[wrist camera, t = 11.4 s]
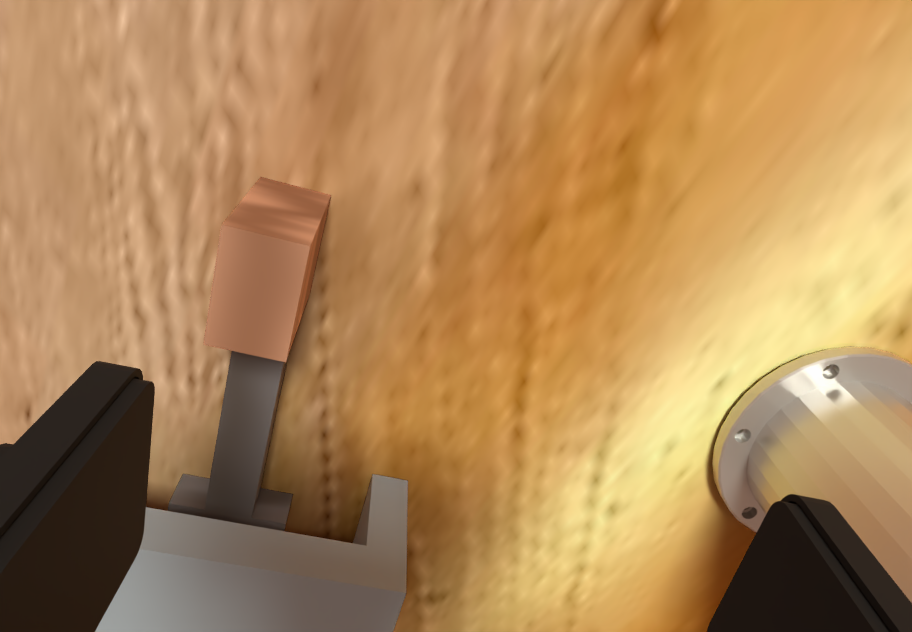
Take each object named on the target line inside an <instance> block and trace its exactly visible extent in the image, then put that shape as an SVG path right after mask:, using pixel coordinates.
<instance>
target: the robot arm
mask: <svg viewBox="0 0 912 632" xmlns="http://www.w3.org/2000/svg"><path fill="white" fill-rule="evenodd" d="M154 393H155V387H154V383H153V382H150V381H145V380H143V375H142V371H141V370H140V369H138V368H132V367H127V366H122V365H117V364H111V363H106V362H101V361H96V362H95V363H93V364H92V365H91V366H90V367H89V368H88V369H87V370H86V371H85V372H84V373H83V374H82V375H81V376H80V377H79V378H78V379H77V380H76V381H75V382H74V383H73V384H72V385H71V386H70V387H69V389H68V390H67V391H66V392H65V393H64V394H63V395H62V396H61V397H60V398H59V399H58V400H57V401H56V402H55V403H54V404H53V405H52V406H51V407H50V408H49V409H48V410H47V411H46V412H45V413H44V414H43V415H42V416H41V417H40V418H39V419H38V420H37V421H36V422H35V423H34V424H33V425H32V426H31V427H30V428H29V429H28V430H27V431H26V432H25V433H24V434H23V435H22V436H21V437H20V439H19V440H18V441H17V442H16V443H15V444H14V445H13V444H7V443H5V444H1V445H0V632H95V630H96V629H97V627H98V625H99V623H100V621H101V620H102V618H103V616H104V614H105V612H106V611H107V609H108V607H109V605H110V603H111V602H112V600H113V598H114V596H115V594H116V593H117V591H118V589H119V587H120V585H121V584H122V582H123V580H124V578H125V576H126V575H127V573H128V571H129V569H130V567H131V566H132V564H133V562H134V560H135V558H136V556H137V554H138V552H139V549H140V546H141V543H142V539H143V534H144V525H145V512H146V499H147V486H148V472H149V459H150V446H151V433H152V420H153V406H154ZM712 466H713V475H714V481H715V484H716V486H717V489H718V492H719V494H720V496H721V498H722V499H723V501H724V502H725V504H726V506H727V507H728V509H729V511H730V512H731V513H732V514H733V515H734V516H735V518H736V519H737V520H738V521H739V522H740V523H742V524H743V525H745V526H746V527H748V528H749V529H751V530H752V531H754V532H756V535H755V537H754V539H753V541H752V543H751V545H750V546H749V548H748V550H747V552H746V554H745V556H744V558H743V560H742V562H741V564H740V566H739V568H738V570H737V572H736V573H735V575H734V577H733V579H732V581H731V583H730V585H729V587H728V589H727V591H726V593H725V595H724V597H723V598H722V600H721V602H720V604H719V606H718V608H717V610H716V612H715V614H714V616H713V618H712V620H711V622H710V624H709V626H708V630H707V632H912V364H911V363H910V362H908V361H907V360H905V359H903V358H901V357H899V356H897V355H895V354H893V353H890V352H887V351H883V350H879V349H875V348H868V347H841V348H833V349H826V350H822V351H819V352H815V353H812V354H808V355H805V356H802V357H800V358H798V359H796V360H793V361H791V362H789V363H787V364H785V365H782V366H781V367H779V368H778V369H776V370H775V371H773V372H771V373H770V374H768V375H767V376H765V377H764V378H762V379H761V380H760V381H759V382H758V383H756V384H755V385H754V386H753V387H752V388H751V389H750V390H748V391H747V392H746V393H745V394H744V395H743V396H742V398H741V399H740V400H739V401H738V402H737V404H736V405H735V406H734V407H733V408H732V410H731V411H730V413H729V415H728V416H727V418H726V420H725V421H724V423H723V425H722V427H721V429H720V431H719V434H718V437H717V440H716V443H715V446H714V453H713V461H712Z"/></svg>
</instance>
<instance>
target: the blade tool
mask: <svg viewBox="0 0 912 632" xmlns="http://www.w3.org/2000/svg"><path fill="white" fill-rule="evenodd" d="M330 198H331V195H328V194H324V193H321V192H317V191H313V190H309V189H305V188H301V187H297V186H293V185H290V184H286V183H282V182H278V181H274V180H270V179H266V178H262V177H260V178H259V180H258V181H257V182H256V183H255V185H254V186H253V187H252V188H251V189H250V191H249V192H248V193H247V194H246V196H245V197H244V198H243V199H242V200H241V202H240V203H239V204H238V205H237V206H236V208H235V209H234V210H233V211H232V213H231V214H230V215H229V216H228V217H227V219H226V220H225V221H224V222H223V223H222V225H221V231H220V238H219V245H218V251H217V258H216V264H215V271H214V278H213V284H212V291H211V297H210V304H209V311H208V317H207V324H206V330H205V337H204V343H203V345H208V346H212V347H217V348H222V349H226V350H231V351H232V353H231V359H230V365H229V370H228V376H227V382H226V388H225V394H224V400H223V405H222V411H221V417H220V423H219V429H218V435H217V440H216V446H215V452H214V458H213V464H212V470H211V475H210V479H209V478H203V477H198V476H193V475H187V474H183V475H182V477H181V479H180V481H179V483H178V485H177V487H176V489H175V492H174V494H173V496H172V498H171V500H170V502H169V506H168V511H171V512H177V513H182V514H188V515H194V516H200V517H205V518H211V519H217V520H222V521H228V522H234V523H239V524H245V525H251V526H257V527H262V528H268V529H274V530H279V531H284V530H285V526H286V521H287V517H288V513H289V509H290V505H291V500H292V496H293V494H290V493H284V492H279V491H274V490H268V489H263V488H261V484H262V479H263V474H264V469H265V465H266V460H267V455H268V450H269V446H270V441H271V436H272V431H273V426H274V422H275V417H276V412H277V407H278V403H279V398H280V393H281V388H282V383H283V379H284V374H285V369H286V364H287V360H288V355H289V352H290V349H291V346H292V344H293V341H294V338H295V335H296V332H297V329H298V326H299V323H300V320H301V318H302V315H303V312H304V309H305V306H306V303H307V300H308V297H309V294H310V291H311V286H312V282H313V277H314V272H315V268H316V263H317V258H318V254H319V249H320V244H321V240H322V235H323V230H324V226H325V221H326V217H327V212H328V207H329V203H330Z"/></svg>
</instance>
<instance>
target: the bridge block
mask: <svg viewBox="0 0 912 632" xmlns="http://www.w3.org/2000/svg"><path fill="white" fill-rule="evenodd" d="M407 503H408V481H407V480H401V479H396V478H391V477H386V476H381V475H375V474H373V475H372V478H371V482H370V485H369V489H368V492H367V496H366V499H365V503H364V506H363V510H362V513H361V517H360V520H359V524H358V527H357V531H356V534H355V538H354V541H353V543H348V542H342V541H337V540H331V539H325V538H319V537H314V536H308V535H302V534H297V533H291V532H285V531H279V530H274V529H268V528H262V527H257V526H251V525H245V524H239V523H234V522H228V521H222V520H217V519H211V518H205V517H200V516H194V515H188V514H182V513H177V512H171V511H165V510H160V509H154V508H148V507H146V512H145V525H144V534H143V539H142V543H141V546H140V549H139V552H138V554H137V556H136V558H135V560H134V562H133V564H132V566H131V567H130V569H129V571H128V573H127V575H126V576H125V578H124V580H123V582H122V584H121V585H120V587H119V589H118V591H117V593H116V594H115V596H114V598H113V600H112V602H111V603H110V605H109V607H108V609H107V611H106V612H105V614H104V616H103V618H102V620H101V621H100V623H99V625H98V627H97V629H96V630H95V632H393V630H394V628H395V625H396V622H397V619H398V616H399V613H400V610H401V607H402V604H403V601H404V598H405V595H406V575H407Z"/></svg>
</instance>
